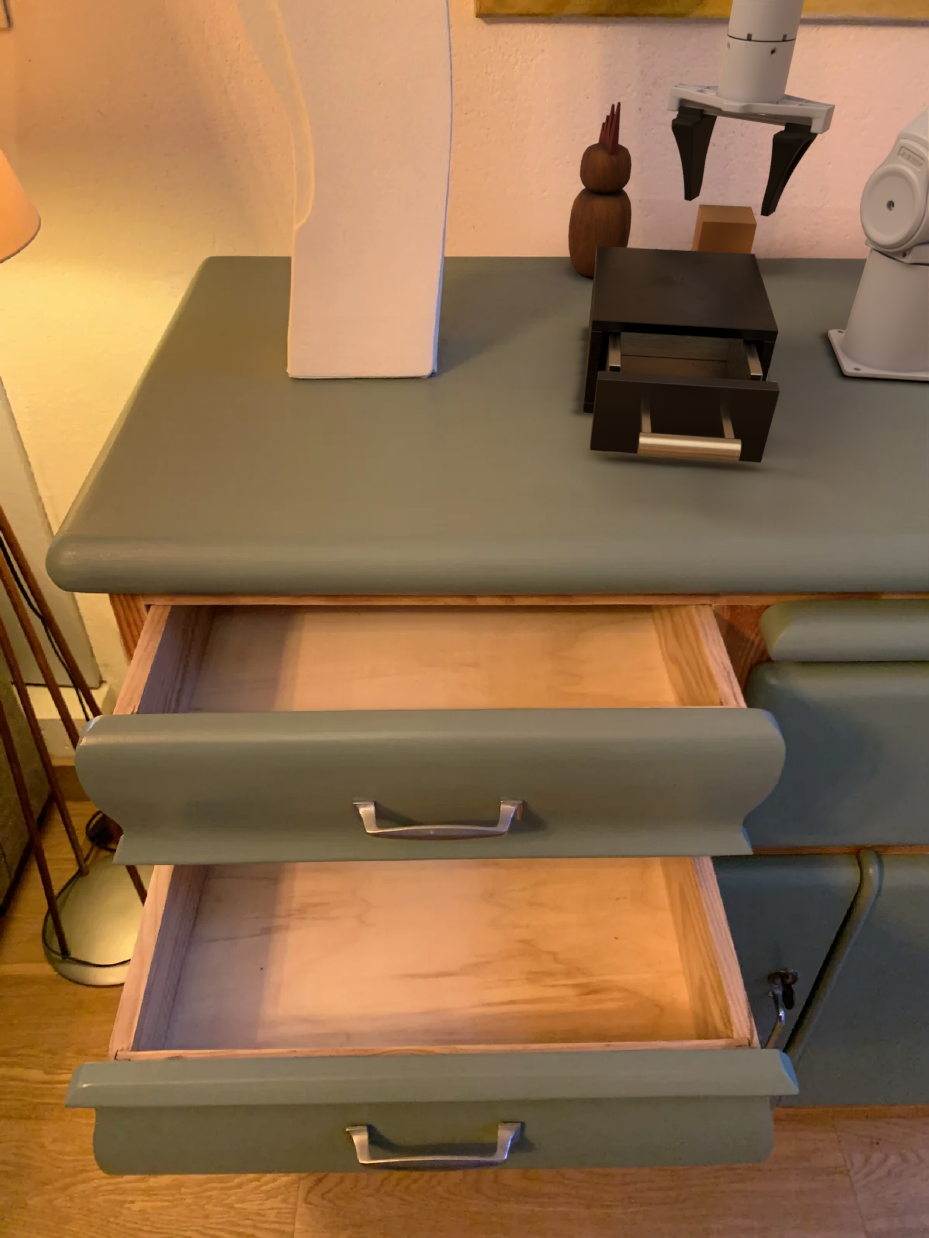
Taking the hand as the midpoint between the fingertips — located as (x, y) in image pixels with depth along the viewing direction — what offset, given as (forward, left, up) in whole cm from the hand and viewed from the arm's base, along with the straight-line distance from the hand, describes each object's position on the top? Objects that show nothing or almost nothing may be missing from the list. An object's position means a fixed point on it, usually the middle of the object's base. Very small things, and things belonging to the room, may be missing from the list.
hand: (728, 205), depth 84 cm
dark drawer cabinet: (+6, +24, -6) cm, 25 cm away
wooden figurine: (+12, +3, -6) cm, 14 cm away
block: (0, 0, -6) cm, 6 cm away
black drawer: (+6, +34, -5) cm, 35 cm away
